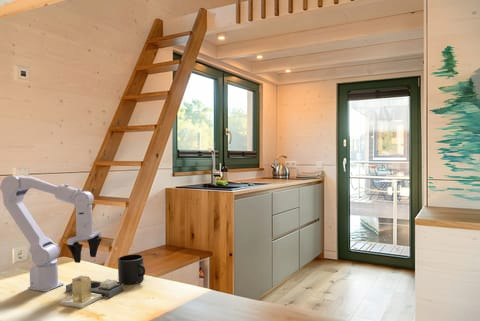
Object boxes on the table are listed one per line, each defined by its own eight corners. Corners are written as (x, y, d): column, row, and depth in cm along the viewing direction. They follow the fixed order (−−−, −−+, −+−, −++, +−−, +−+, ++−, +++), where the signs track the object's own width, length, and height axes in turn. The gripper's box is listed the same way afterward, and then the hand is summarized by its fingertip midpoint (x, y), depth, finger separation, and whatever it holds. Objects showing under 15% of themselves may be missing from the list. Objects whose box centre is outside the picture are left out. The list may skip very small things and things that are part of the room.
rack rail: (65, 290, 132) (65, 280, 132) (81, 284, 139) (81, 273, 139) (109, 297, 125) (109, 286, 125) (123, 290, 132) (123, 279, 131)
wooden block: (72, 301, 121) (72, 280, 121) (82, 297, 125) (81, 276, 125) (81, 303, 120) (81, 282, 120) (91, 298, 124) (90, 278, 123)
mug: (136, 287, 134) (135, 263, 134) (113, 282, 140) (112, 259, 140) (153, 279, 143) (153, 256, 142) (131, 275, 148) (130, 253, 148)
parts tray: (60, 304, 120) (60, 301, 120) (81, 294, 128) (81, 291, 128) (81, 308, 117) (81, 304, 117) (101, 297, 125) (101, 294, 125)
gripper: (77, 227, 129) (78, 266, 129) (106, 220, 142) (107, 255, 142) (62, 226, 132) (63, 264, 132) (92, 219, 145) (93, 253, 145)
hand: (85, 259), depth 137 cm, fingers open, 7 cm apart
